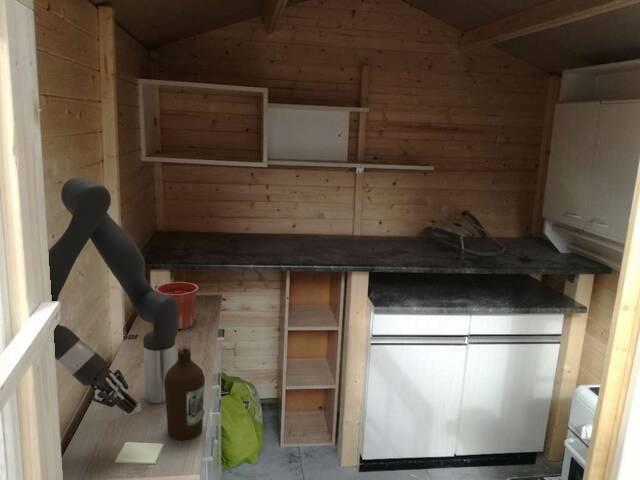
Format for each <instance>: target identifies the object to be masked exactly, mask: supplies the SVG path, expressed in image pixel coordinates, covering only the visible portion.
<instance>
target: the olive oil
mask: <svg viewBox="0 0 640 480" xmlns="http://www.w3.org/2000/svg"><path fill="white" fill-rule="evenodd" d="M177 351H178V352H177V360H176V361H175V364H174V365H173V366H172V367H171V368H170V369H169V370H168V372H167V374H166V377H165V381H164V385H165V397H166V402H165V407H166V423H167V425H166V426H167V435H168V436H169V437H170V438H171V439H175V440H178V441H187V440H188V441H189V440H192V439H194V438H197V437H198V436H199V435H201V434H202V432H203V424H204V423H203V422H204V421H203V418H204V417H205V410H204V399H205V396H204V395H205V380H206V379H205V375H204V372H203V369H202V368H201V366H199V365H198V364H197V363H196V362H194V361H193V360H192V359H191V356H192V351H191V346H190V345H186V344H184V345H180V346H179V347H178V348H177Z"/></svg>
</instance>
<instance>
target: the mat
mask: <svg viewBox="0 0 640 480" xmlns="http://www.w3.org/2000/svg"><path fill="white" fill-rule="evenodd" d="M164 445H165V444H164V443H159V442H157V443H154V442H134V441H133V442H132V441H131V442H127V441H126V442H125V443H124V445H123V446H122V449H121V450H120V452H119V454H118V455H117V457H116V458H115V460H114V464H131V465H132V464H135V465H156V463H157V461H158V459H159V456H160V455H161V452H162V450H163V448H164Z"/></svg>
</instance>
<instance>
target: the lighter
mask: <svg viewBox="0 0 640 480" xmlns="http://www.w3.org/2000/svg"><path fill="white" fill-rule="evenodd" d="M110 402H112V401H110ZM142 409H143V407H142V404H141V403H137V406H136V407H135V409H134V410H133V411H132V412H131V413H130V414H128V413H126V412H125V411H124V410H123V409H122V408H121V407H120V406H118V405H115V406H113V407H109V406H106V405H103V406H102V407H100V410H99V412H100V413H101V414H102V416H105V417H106V418H107V419H108V420H110V421H111V422H113V421H115V419H116V418H117V417H118V416H120V415H121V414H122V413H124V415H125V416H129V415H132V414H136V413H140V412H141V411H142Z"/></svg>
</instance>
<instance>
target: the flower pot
mask: <svg viewBox="0 0 640 480" xmlns="http://www.w3.org/2000/svg"><path fill="white" fill-rule="evenodd" d="M198 289H199V286H198V285H197V284H195V283H192V282H185V281H175V282H174V281H173V282H167V283H164V284H163V283H162V284H160V285H158V286H157V287H156V289H155V291H156V292H158V293H161V294H165V295H168V296H171V297H173V298H174V299H175V300H176V301H177V304H178V329H182V330H185V329H184V328H186V329H189V328H191V327H192V326H193V325H194V317H195V316H194V315H195V303H196V298H197V291H198ZM190 326H191V327H190ZM188 327H189V328H188Z"/></svg>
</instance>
